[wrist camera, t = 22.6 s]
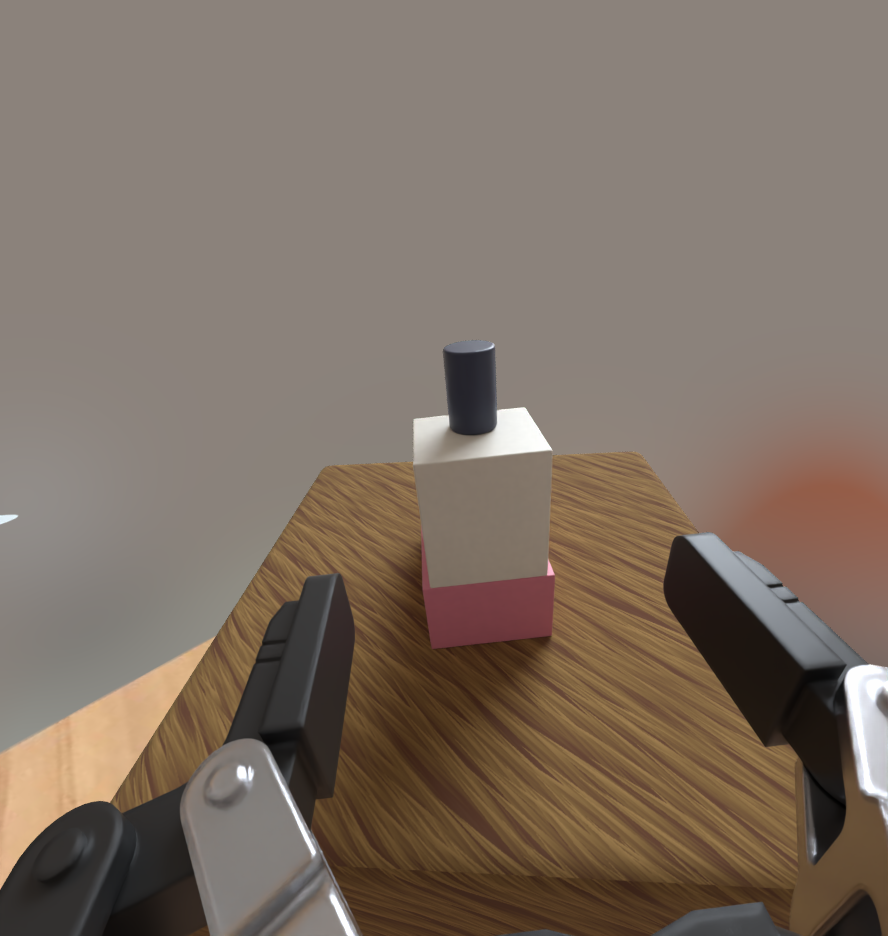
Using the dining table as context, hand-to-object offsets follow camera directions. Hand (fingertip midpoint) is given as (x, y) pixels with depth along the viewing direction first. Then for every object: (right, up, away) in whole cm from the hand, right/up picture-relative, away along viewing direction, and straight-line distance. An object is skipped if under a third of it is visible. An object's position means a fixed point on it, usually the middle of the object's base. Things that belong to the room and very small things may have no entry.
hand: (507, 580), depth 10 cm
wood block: (+2, -24, +24) cm, 35 cm away
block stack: (0, -2, +12) cm, 12 cm away
